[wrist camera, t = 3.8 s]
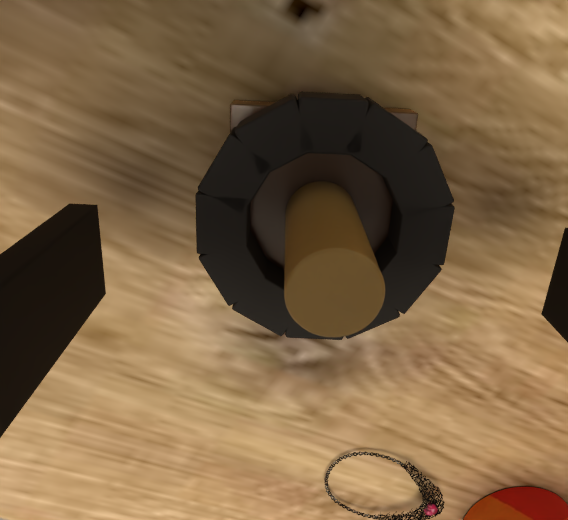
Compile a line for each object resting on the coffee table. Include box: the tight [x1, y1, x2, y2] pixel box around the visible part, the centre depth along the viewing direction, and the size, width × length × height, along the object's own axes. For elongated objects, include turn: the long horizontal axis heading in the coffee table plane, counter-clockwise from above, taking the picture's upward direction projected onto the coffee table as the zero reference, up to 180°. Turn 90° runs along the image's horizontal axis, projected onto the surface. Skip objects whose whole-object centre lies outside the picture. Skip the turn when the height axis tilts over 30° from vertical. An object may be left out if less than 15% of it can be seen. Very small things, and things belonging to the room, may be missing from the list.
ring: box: [196, 92, 455, 340], centre depth 17 cm, size 8×8×2 cm
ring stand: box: [230, 100, 418, 337], centre depth 16 cm, size 7×7×9 cm
